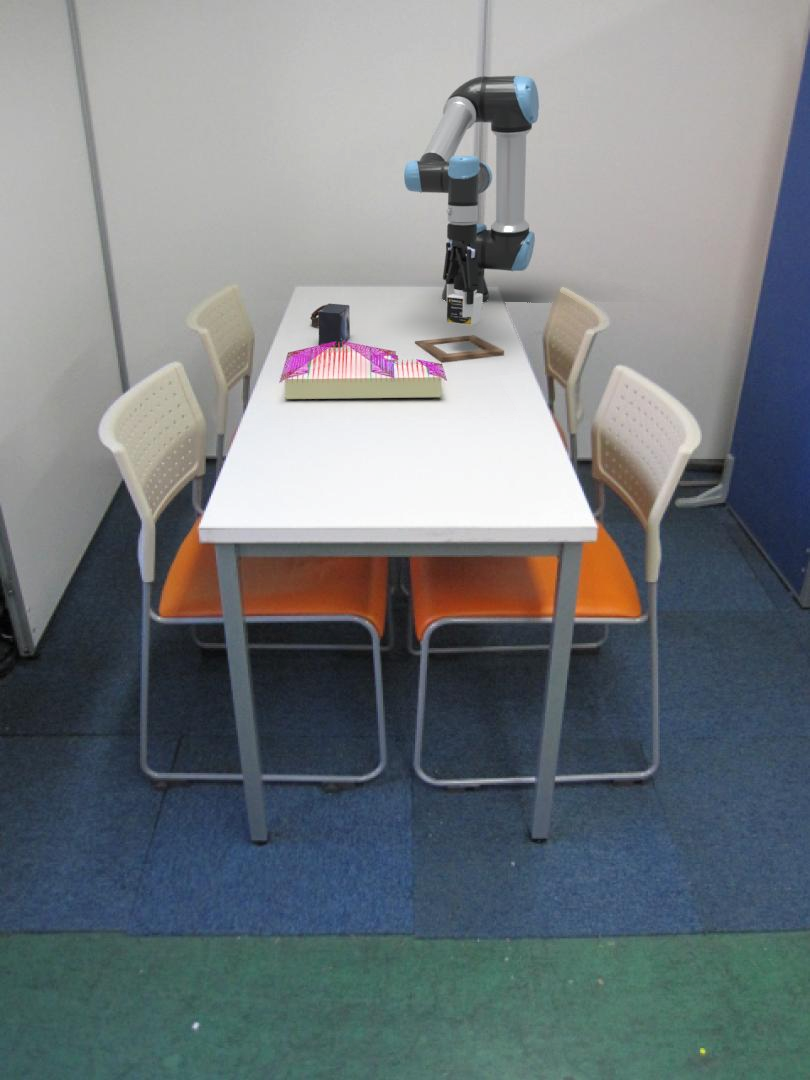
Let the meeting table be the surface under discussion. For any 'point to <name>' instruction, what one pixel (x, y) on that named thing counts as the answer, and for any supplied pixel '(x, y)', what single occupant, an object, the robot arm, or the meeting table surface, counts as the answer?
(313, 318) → the pottery mug
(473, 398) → the meeting table surface
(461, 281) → the medicine bottle
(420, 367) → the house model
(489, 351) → the brown square frame
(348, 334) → the small box
